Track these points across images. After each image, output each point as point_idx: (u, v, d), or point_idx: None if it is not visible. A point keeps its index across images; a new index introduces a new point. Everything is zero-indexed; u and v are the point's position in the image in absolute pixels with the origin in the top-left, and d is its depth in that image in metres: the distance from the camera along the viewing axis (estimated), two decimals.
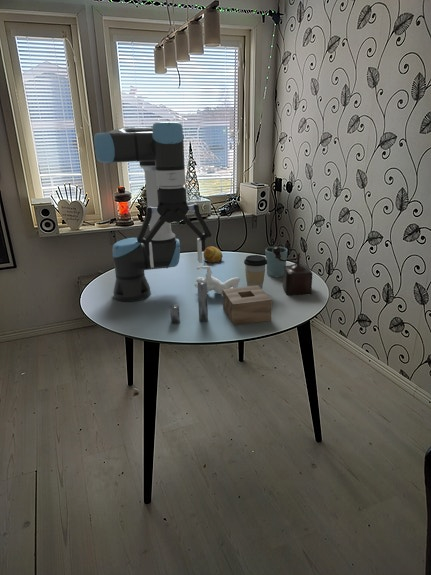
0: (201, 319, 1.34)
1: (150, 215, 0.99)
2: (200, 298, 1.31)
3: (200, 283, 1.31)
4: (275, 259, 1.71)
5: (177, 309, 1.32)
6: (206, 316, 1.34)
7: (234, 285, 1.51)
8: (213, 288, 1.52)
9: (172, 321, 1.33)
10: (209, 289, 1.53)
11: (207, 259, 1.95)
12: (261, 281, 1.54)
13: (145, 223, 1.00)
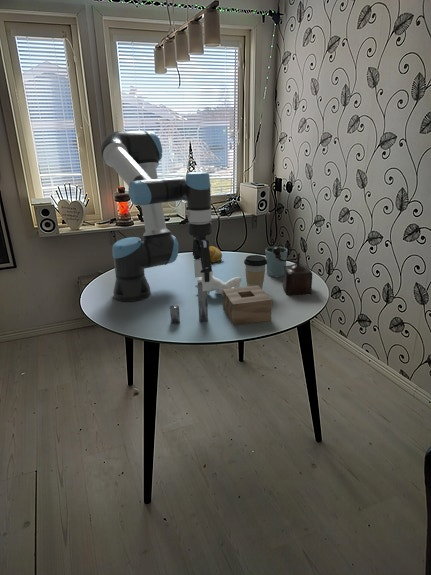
0: (201, 319, 1.34)
1: (193, 238, 1.30)
2: (200, 298, 1.31)
3: (200, 283, 1.31)
4: (275, 259, 1.71)
5: (177, 309, 1.32)
6: (206, 316, 1.34)
7: (236, 285, 1.51)
8: (215, 288, 1.52)
9: (172, 321, 1.33)
10: (211, 289, 1.53)
11: None
12: (261, 281, 1.54)
13: (193, 243, 1.33)
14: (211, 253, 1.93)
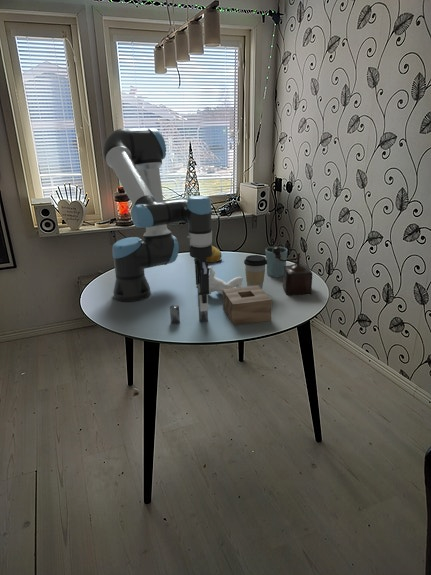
0: (201, 319, 1.34)
1: None
2: None
3: None
4: (275, 259, 1.71)
5: (177, 309, 1.32)
6: (206, 316, 1.34)
7: (238, 285, 1.51)
8: (217, 289, 1.52)
9: (172, 321, 1.33)
10: (213, 290, 1.52)
11: (206, 259, 1.96)
12: (261, 281, 1.54)
13: (195, 270, 1.34)
14: None
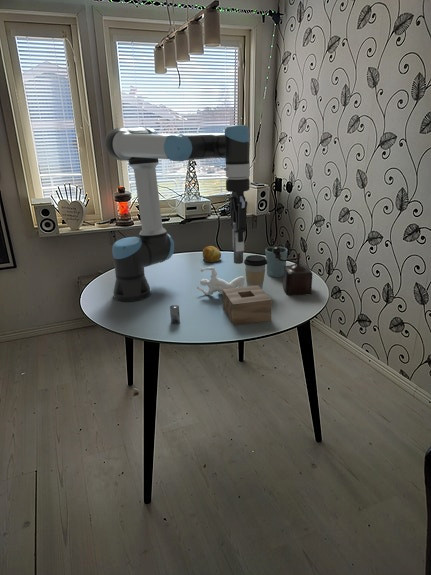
0: (236, 261, 1.29)
1: (230, 202, 1.28)
2: None
3: None
4: (275, 259, 1.71)
5: (177, 309, 1.32)
6: (241, 258, 1.29)
7: (240, 284, 1.52)
8: (219, 289, 1.51)
9: (172, 321, 1.33)
10: (215, 290, 1.52)
11: (205, 258, 1.96)
12: (261, 281, 1.54)
13: (230, 209, 1.29)
14: (210, 253, 1.94)
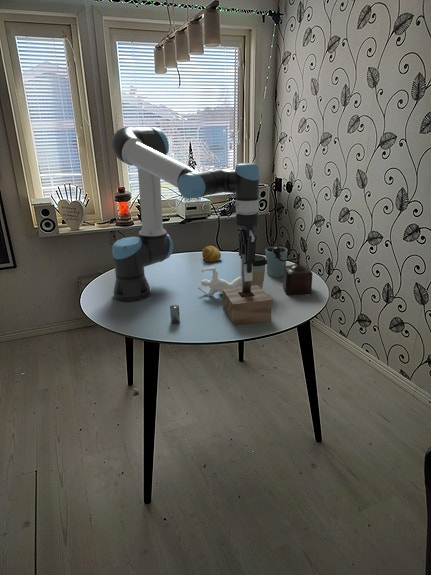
0: (245, 291, 1.34)
1: (239, 233, 1.33)
2: None
3: None
4: (275, 259, 1.71)
5: (177, 309, 1.32)
6: (250, 288, 1.34)
7: (241, 284, 1.52)
8: (221, 289, 1.51)
9: (172, 321, 1.33)
10: (216, 291, 1.52)
11: (205, 258, 1.96)
12: (261, 281, 1.54)
13: None
14: (209, 253, 1.94)
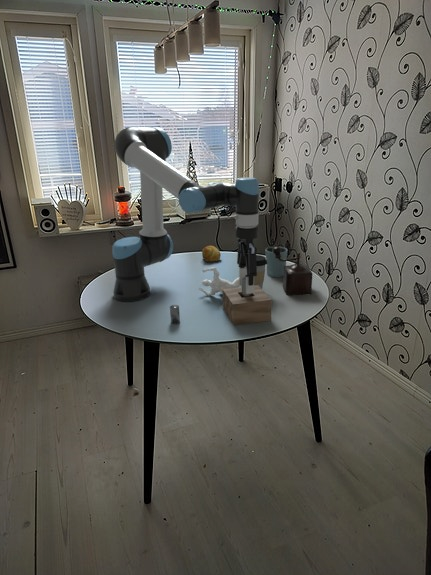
0: None
1: (238, 244, 1.35)
2: (244, 293, 1.35)
3: (244, 278, 1.34)
4: (275, 259, 1.71)
5: (177, 309, 1.32)
6: None
7: None
8: (222, 289, 1.51)
9: (172, 321, 1.33)
10: (217, 291, 1.52)
11: (205, 258, 1.97)
12: (261, 281, 1.54)
13: (238, 250, 1.36)
14: (209, 252, 1.94)
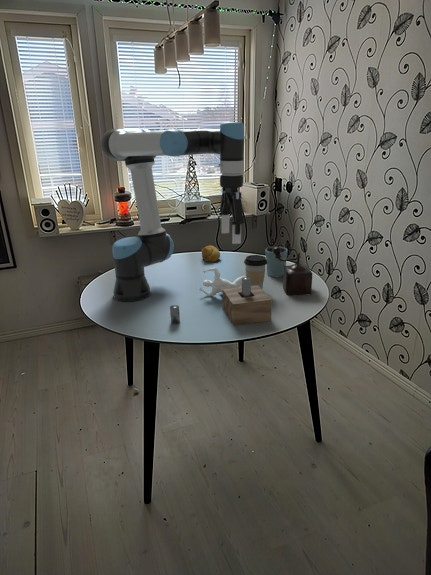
0: None
1: (222, 193, 1.30)
2: (244, 293, 1.35)
3: (244, 278, 1.34)
4: (275, 259, 1.71)
5: (177, 309, 1.32)
6: None
7: None
8: None
9: (172, 321, 1.33)
10: (219, 291, 1.51)
11: (204, 258, 1.97)
12: (261, 281, 1.54)
13: (221, 198, 1.32)
14: (209, 252, 1.94)
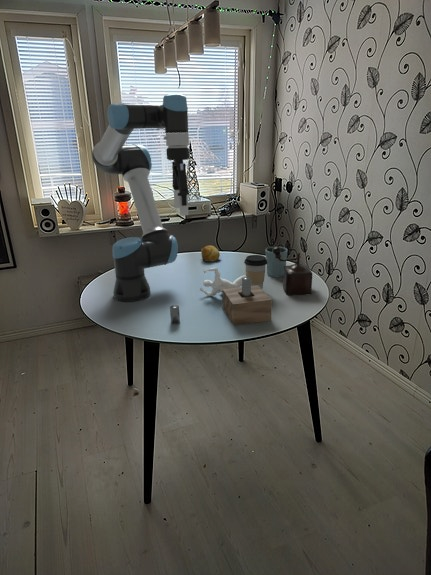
0: None
1: None
2: (244, 293, 1.35)
3: (244, 278, 1.34)
4: (275, 259, 1.71)
5: (177, 309, 1.32)
6: None
7: None
8: None
9: (172, 321, 1.33)
10: (219, 291, 1.51)
11: (204, 258, 1.97)
12: (261, 281, 1.54)
13: None
14: (208, 252, 1.95)
